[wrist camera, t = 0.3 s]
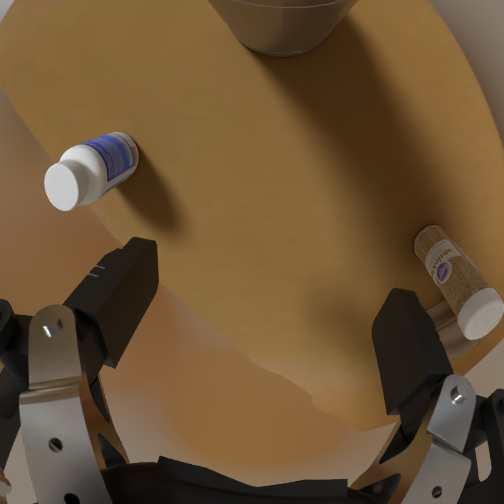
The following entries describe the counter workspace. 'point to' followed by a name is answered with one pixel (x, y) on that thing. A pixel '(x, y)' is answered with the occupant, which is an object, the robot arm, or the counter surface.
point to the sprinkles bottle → (459, 282)
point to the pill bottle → (91, 170)
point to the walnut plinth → (450, 330)
